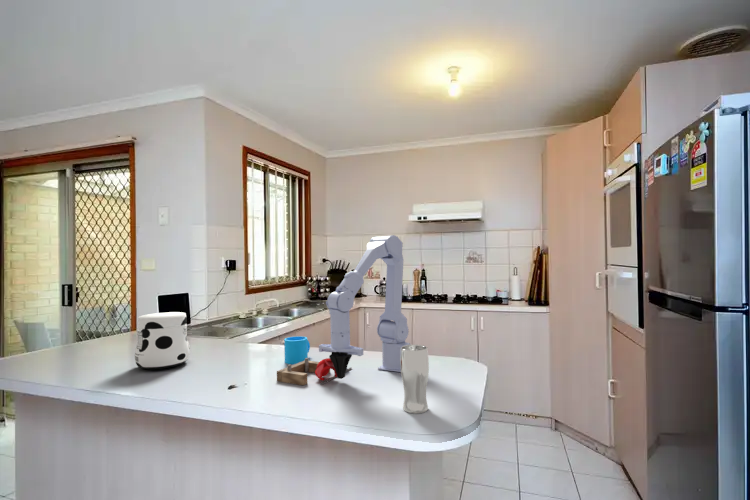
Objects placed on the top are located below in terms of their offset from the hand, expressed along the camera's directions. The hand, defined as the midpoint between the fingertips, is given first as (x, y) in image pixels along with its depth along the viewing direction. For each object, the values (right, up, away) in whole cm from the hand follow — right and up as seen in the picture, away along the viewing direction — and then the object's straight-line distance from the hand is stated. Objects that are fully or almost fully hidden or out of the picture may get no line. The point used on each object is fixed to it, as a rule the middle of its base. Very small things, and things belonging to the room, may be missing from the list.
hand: (341, 377), depth 121 cm
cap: (-4, -1, +3) cm, 5 cm away
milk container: (-65, -3, +23) cm, 69 cm away
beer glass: (+20, -1, -22) cm, 30 cm away
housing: (-9, -2, +8) cm, 12 cm away
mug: (-17, -2, +27) cm, 33 cm away
